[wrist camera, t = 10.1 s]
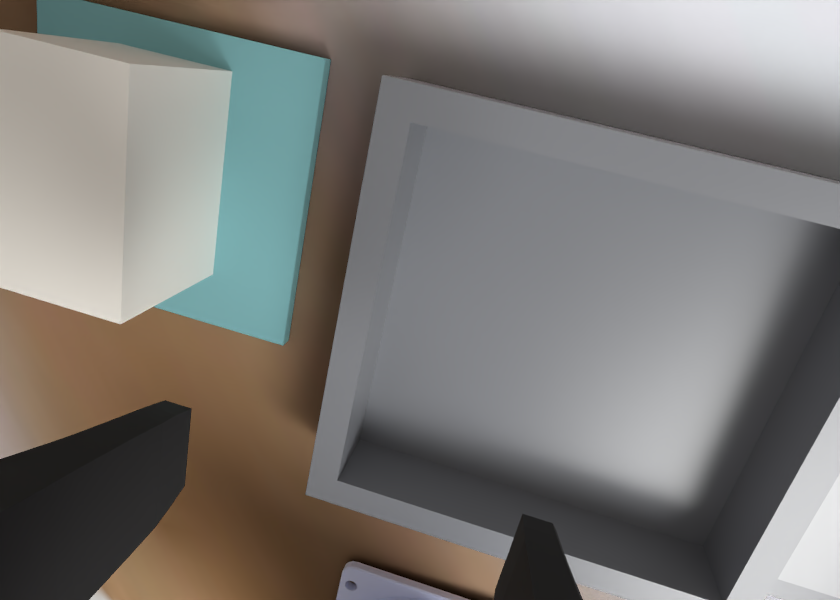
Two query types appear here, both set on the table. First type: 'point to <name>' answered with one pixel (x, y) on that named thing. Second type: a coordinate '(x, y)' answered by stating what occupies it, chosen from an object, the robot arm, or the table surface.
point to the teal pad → (236, 160)
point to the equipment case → (590, 350)
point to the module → (107, 172)
